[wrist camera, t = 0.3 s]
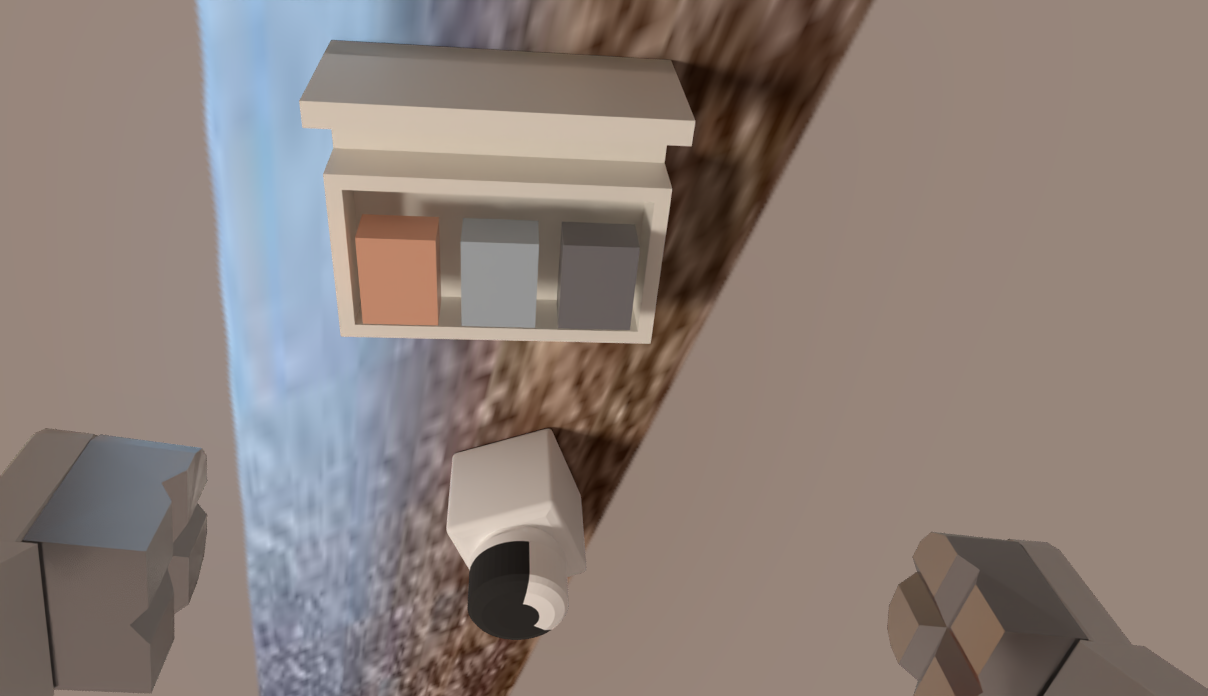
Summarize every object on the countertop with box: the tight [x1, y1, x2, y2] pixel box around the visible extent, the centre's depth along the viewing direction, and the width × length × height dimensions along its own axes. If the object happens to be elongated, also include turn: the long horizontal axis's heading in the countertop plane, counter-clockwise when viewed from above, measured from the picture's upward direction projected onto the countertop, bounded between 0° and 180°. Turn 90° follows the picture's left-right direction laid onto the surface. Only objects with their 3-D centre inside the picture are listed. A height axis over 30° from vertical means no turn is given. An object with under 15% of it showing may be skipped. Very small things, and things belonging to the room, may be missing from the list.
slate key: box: [461, 218, 539, 328], centre depth 46 cm, size 5×4×2 cm
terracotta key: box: [355, 214, 441, 325], centre depth 46 cm, size 5×4×2 cm
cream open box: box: [299, 40, 695, 344], centre depth 46 cm, size 14×17×8 cm
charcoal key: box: [557, 222, 640, 330], centre depth 47 cm, size 5×4×2 cm
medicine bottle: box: [446, 429, 586, 640], centre depth 58 cm, size 7×7×12 cm
